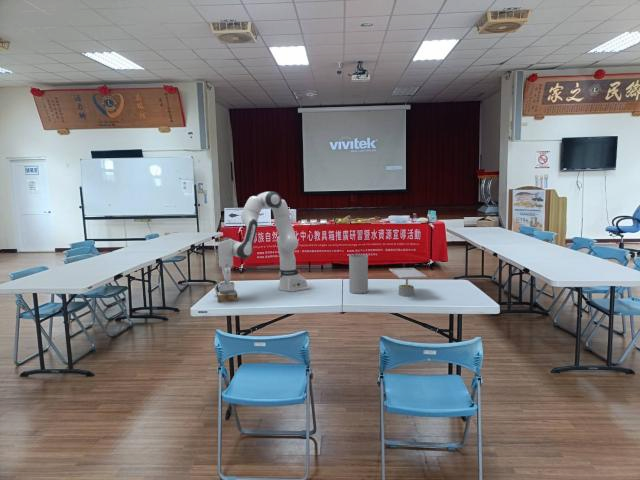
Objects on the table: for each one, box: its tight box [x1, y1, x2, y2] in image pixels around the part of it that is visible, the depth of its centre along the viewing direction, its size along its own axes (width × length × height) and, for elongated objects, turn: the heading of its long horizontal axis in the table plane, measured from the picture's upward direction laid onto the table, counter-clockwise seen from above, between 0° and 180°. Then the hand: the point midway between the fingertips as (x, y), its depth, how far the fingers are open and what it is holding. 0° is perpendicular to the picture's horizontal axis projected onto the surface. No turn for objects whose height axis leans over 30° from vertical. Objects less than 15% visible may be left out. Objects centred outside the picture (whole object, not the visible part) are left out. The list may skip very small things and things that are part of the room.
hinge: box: [214, 280, 225, 295], centre depth 294 cm, size 17×5×10 cm, turn 167°
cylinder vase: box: [348, 253, 369, 295], centre depth 293 cm, size 12×12×25 cm
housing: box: [218, 281, 236, 294], centre depth 278 cm, size 9×5×6 cm, turn 107°
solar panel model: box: [388, 267, 428, 298], centre depth 285 cm, size 28×17×15 cm, turn 5°
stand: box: [216, 289, 239, 303], centre depth 279 cm, size 12×8×5 cm, turn 107°
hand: (227, 284), depth 278 cm, fingers open, 8 cm apart
